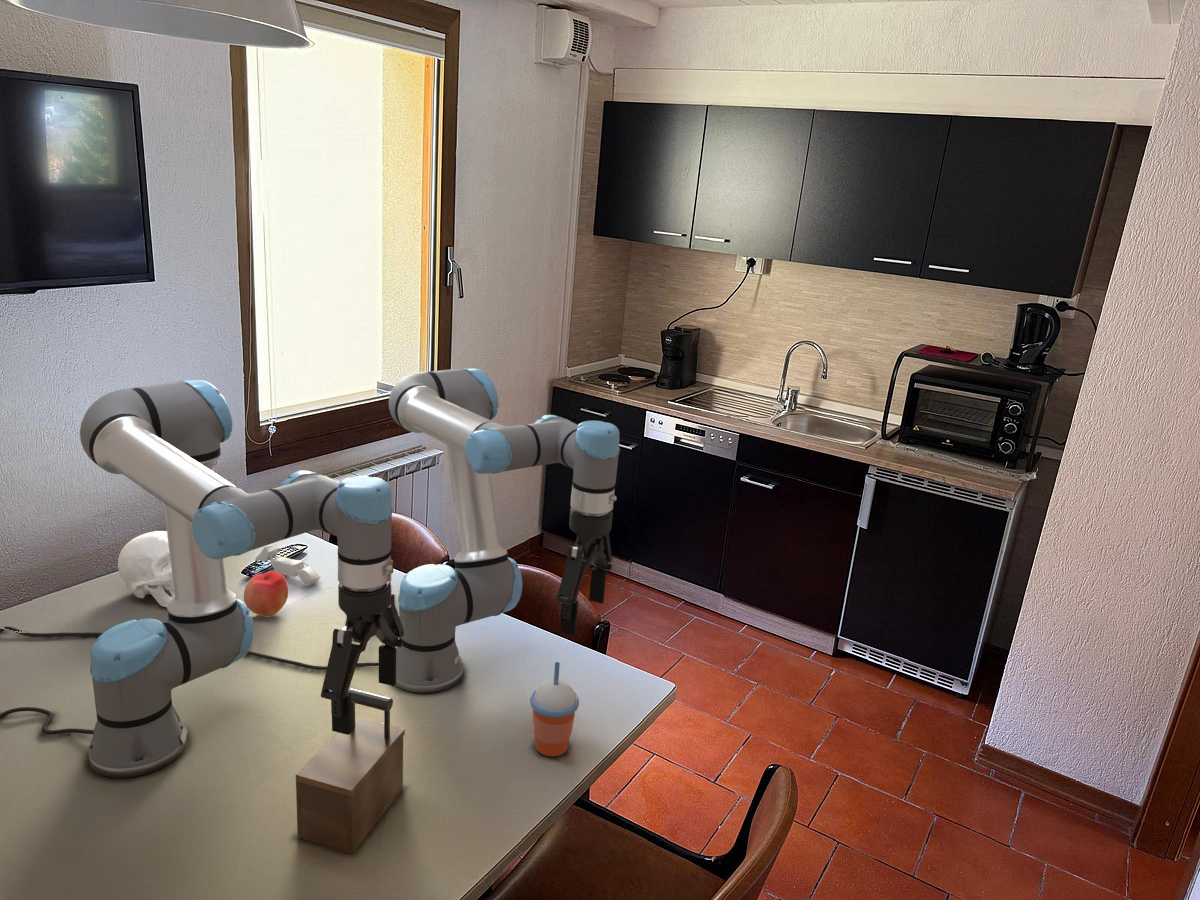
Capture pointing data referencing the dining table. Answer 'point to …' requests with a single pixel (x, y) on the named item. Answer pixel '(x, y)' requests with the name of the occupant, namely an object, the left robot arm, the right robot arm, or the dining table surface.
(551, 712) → the cup with straw
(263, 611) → the apple
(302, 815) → the chest
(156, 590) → the skull
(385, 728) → the lid
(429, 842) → the dining table surface
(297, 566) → the white angular piece
